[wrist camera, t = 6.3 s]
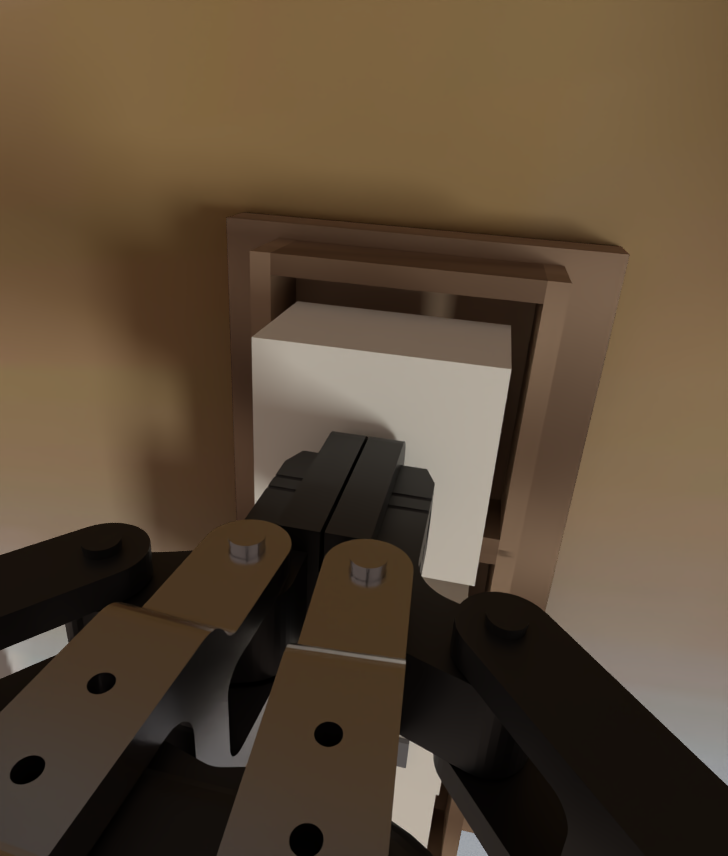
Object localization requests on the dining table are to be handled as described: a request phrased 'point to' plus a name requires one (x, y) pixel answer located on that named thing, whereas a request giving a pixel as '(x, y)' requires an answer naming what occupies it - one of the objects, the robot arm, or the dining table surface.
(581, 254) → the brown tile tray
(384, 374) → the tile one
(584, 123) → the dining table surface
